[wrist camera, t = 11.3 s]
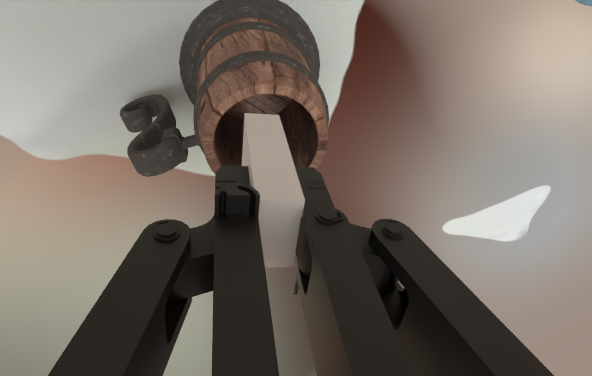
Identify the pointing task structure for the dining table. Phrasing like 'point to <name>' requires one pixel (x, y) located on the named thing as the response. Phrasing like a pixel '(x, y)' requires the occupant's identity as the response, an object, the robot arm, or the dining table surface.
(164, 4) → the dining table surface
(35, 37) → the dining table surface
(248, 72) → the tankard
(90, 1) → the dining table surface
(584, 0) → the teapot
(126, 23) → the dining table surface
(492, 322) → the robot arm
